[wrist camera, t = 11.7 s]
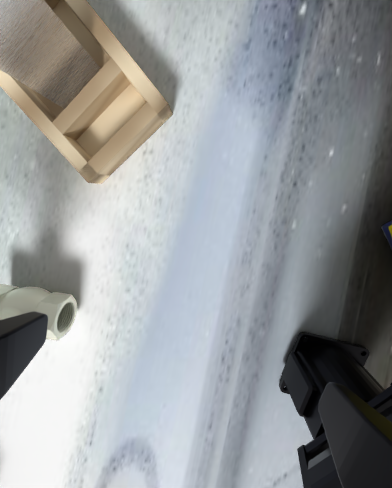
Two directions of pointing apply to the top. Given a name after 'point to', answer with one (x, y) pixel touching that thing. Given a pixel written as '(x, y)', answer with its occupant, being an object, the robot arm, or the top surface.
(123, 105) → the holder
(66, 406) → the top surface
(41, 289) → the valve
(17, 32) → the square bit
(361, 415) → the robot arm
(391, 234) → the supplement box
